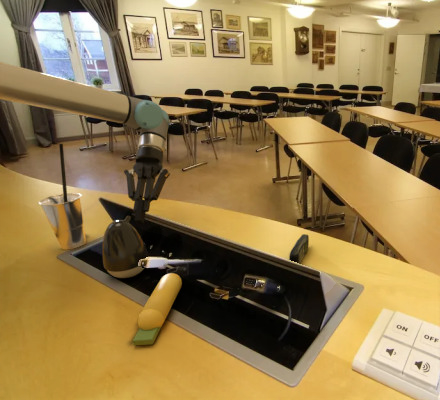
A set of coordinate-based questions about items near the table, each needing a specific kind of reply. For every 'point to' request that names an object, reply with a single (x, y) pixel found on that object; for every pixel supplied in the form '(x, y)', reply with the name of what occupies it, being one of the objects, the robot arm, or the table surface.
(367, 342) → the table surface
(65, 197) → the silver cup with straw
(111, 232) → the dark brown egg shape
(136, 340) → the corn cob
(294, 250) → the mobile phone
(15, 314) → the table surface
